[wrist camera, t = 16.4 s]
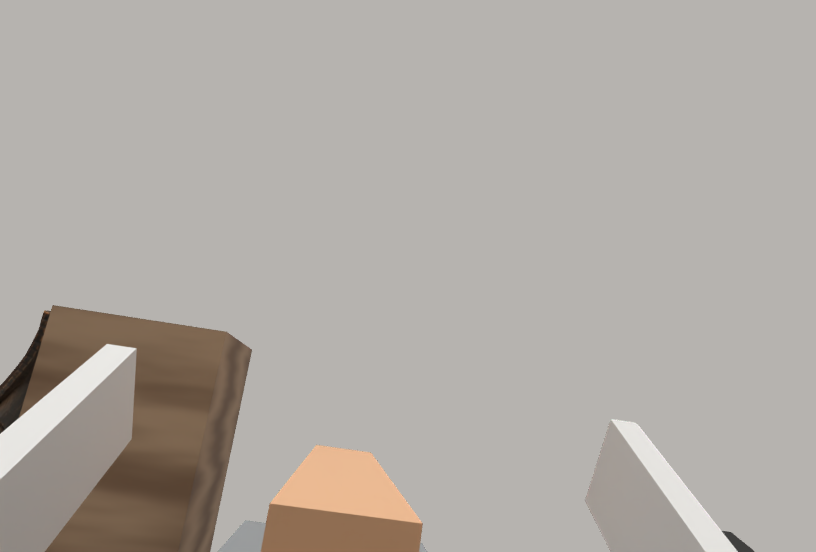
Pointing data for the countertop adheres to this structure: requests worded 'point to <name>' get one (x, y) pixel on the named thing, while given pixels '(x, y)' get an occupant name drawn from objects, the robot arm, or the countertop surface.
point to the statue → (20, 380)
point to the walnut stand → (152, 430)
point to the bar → (340, 508)
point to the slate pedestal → (253, 538)
